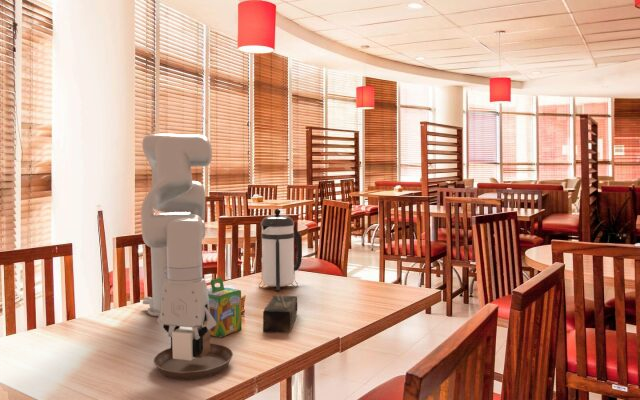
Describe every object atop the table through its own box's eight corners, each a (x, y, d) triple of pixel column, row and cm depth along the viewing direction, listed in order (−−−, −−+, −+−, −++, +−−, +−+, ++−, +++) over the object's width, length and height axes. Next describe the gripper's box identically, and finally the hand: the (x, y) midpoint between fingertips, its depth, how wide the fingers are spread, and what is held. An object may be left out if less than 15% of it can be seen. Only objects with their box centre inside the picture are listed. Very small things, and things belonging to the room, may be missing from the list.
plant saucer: (245, 372, 116) (245, 359, 116) (166, 391, 106) (166, 377, 106) (216, 349, 131) (216, 337, 131) (145, 364, 121) (144, 351, 121)
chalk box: (220, 338, 138) (219, 284, 137) (195, 333, 143) (194, 280, 142) (243, 329, 146) (242, 277, 145) (219, 324, 151) (218, 274, 150)
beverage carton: (298, 314, 161) (298, 293, 161) (290, 334, 142) (290, 310, 142) (273, 313, 162) (273, 293, 161) (262, 333, 143) (261, 310, 142)
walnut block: (183, 355, 118) (182, 330, 118) (193, 349, 123) (192, 324, 122) (200, 357, 117) (200, 332, 117) (210, 351, 121) (209, 326, 121)
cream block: (172, 358, 114) (172, 331, 113) (183, 351, 118) (182, 325, 118) (190, 360, 113) (190, 333, 112) (201, 353, 117) (200, 327, 117)
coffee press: (299, 291, 189) (298, 210, 187) (256, 292, 189) (255, 210, 187) (301, 281, 206) (301, 206, 204) (262, 281, 206) (261, 207, 205)
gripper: (141, 275, 113) (144, 356, 114) (211, 278, 108) (213, 363, 109) (161, 268, 120) (163, 345, 121) (227, 271, 116) (228, 351, 117)
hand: (187, 353), depth 115 cm, fingers closed on cream block, 4 cm apart
